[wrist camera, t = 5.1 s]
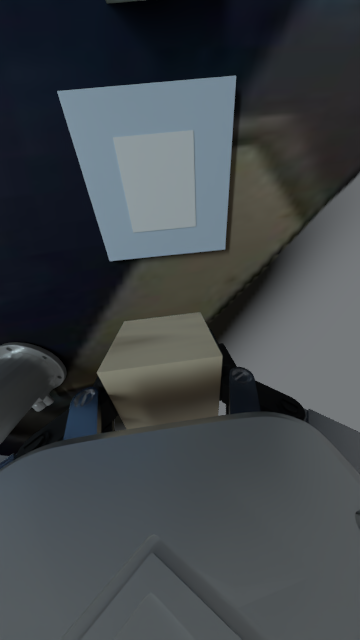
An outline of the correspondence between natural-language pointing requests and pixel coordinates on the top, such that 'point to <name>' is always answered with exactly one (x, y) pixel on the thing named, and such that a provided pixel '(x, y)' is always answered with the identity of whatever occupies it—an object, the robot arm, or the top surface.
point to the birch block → (163, 371)
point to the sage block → (117, 0)
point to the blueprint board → (156, 163)
